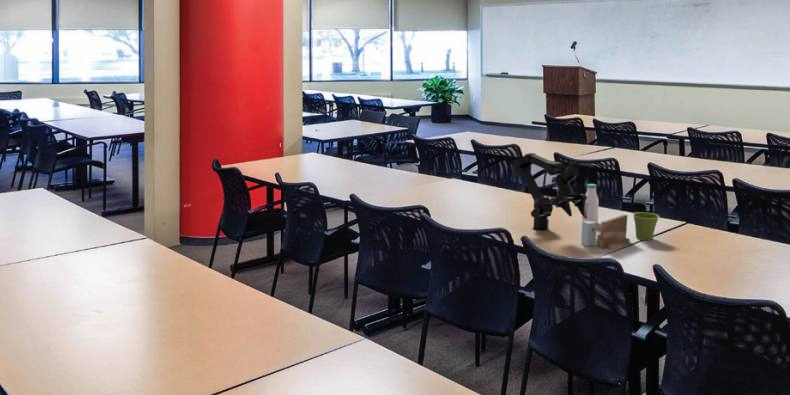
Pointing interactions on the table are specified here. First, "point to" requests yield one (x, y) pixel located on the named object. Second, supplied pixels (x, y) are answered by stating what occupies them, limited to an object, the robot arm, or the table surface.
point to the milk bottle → (591, 204)
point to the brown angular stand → (613, 232)
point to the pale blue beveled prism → (589, 233)
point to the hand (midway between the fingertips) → (577, 215)
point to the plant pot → (645, 225)
